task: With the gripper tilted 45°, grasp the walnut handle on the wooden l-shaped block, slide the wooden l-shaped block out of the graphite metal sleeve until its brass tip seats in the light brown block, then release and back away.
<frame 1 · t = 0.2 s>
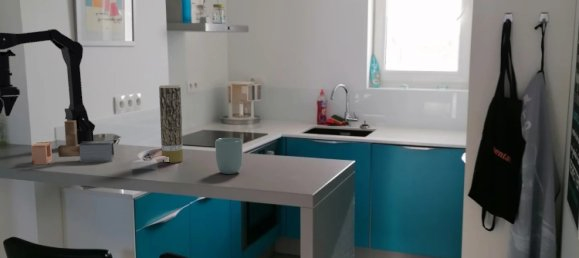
hand: (3, 114, 202), 15 cm above the worktop, tool pointing down, fingers open, 9 cm apart
light brown block: (41, 153, 192), on the worktop
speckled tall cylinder: (172, 162, 191), on the worktop
cup: (229, 173, 174), on the worktop
sleeve: (82, 160, 194), on the worktop
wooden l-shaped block: (83, 138, 193), point 8 cm above the worktop, slide at 0.0 cm
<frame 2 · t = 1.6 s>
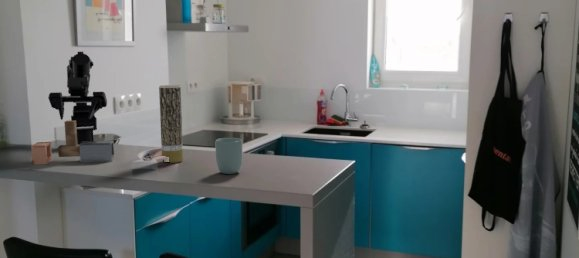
hand: (75, 118, 199), 13 cm above the worktop, tool tilted 45°, fingers open, 9 cm apart
nothing on the worktop moved.
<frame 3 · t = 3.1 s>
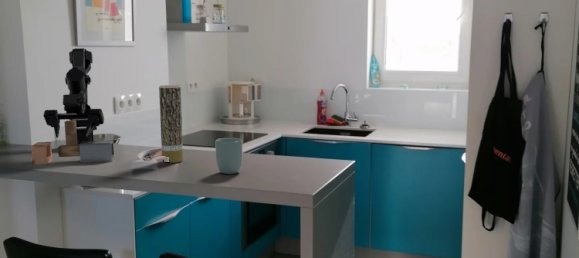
hand: (71, 136, 192), 8 cm above the worktop, tool tilted 45°, fingers open, 9 cm apart
nothing on the worktop moved.
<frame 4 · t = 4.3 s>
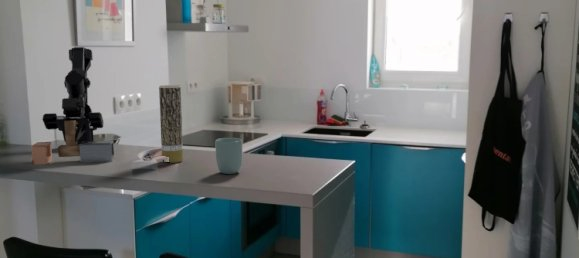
hand: (70, 141, 191), 7 cm above the worktop, tool tilted 45°, fingers closed on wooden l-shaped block, 3 cm apart
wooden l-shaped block: (83, 138, 193), point 8 cm above the worktop, slide at 0.0 cm, touching gripper
everything else where it was.
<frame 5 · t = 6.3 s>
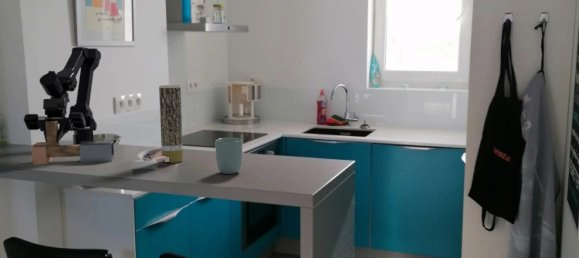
hand: (51, 141, 190), 7 cm above the worktop, tool tilted 45°, fingers closed on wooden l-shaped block, 3 cm apart
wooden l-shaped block: (65, 138, 192), point 8 cm above the worktop, slide at 5.9 cm, touching gripper
everything else where it was.
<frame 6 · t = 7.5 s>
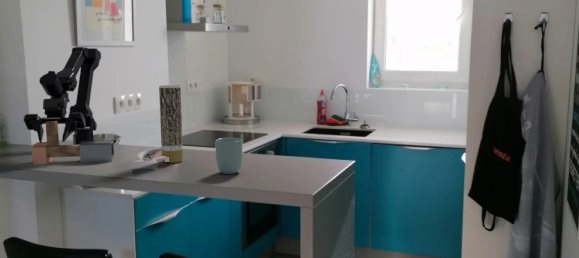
hand: (51, 141, 190), 7 cm above the worktop, tool tilted 45°, fingers open, 7 cm apart
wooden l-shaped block: (65, 138, 192), point 8 cm above the worktop, slide at 5.9 cm
everything else where it was.
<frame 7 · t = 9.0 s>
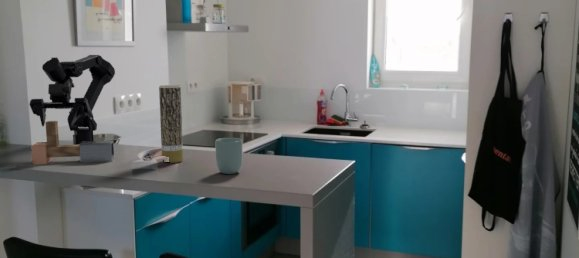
hand: (56, 125, 197), 11 cm above the worktop, tool tilted 45°, fingers open, 9 cm apart
nothing on the worktop moved.
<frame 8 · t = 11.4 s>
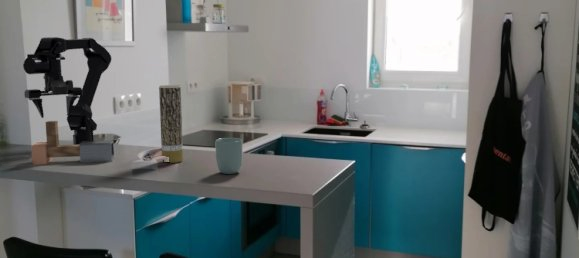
hand: (55, 116, 209), 13 cm above the worktop, tool pointing down, fingers open, 9 cm apart
nothing on the worktop moved.
at the end: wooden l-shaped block slide at 5.9 cm; the gripper is holding nothing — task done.
